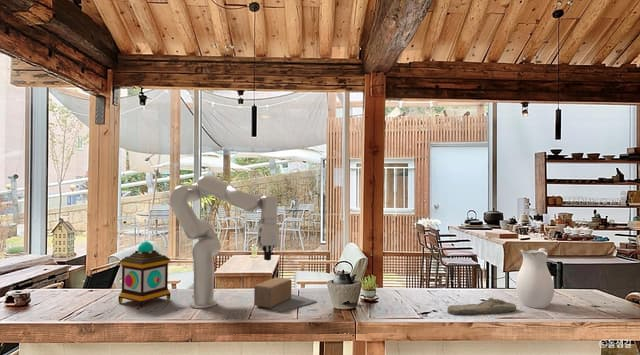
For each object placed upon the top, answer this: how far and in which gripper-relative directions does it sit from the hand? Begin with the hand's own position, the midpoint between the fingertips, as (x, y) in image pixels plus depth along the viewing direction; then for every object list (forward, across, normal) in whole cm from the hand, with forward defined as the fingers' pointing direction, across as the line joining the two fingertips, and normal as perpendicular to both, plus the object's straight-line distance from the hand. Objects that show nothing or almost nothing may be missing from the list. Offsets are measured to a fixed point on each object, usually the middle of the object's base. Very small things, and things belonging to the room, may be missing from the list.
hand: (267, 259), depth 197 cm
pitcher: (+20, +103, -89) cm, 137 cm away
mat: (+23, +13, -1) cm, 26 cm away
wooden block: (+17, -2, +1) cm, 18 cm away
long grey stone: (+21, +70, -74) cm, 104 cm away
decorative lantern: (+25, -36, +50) cm, 67 cm away
